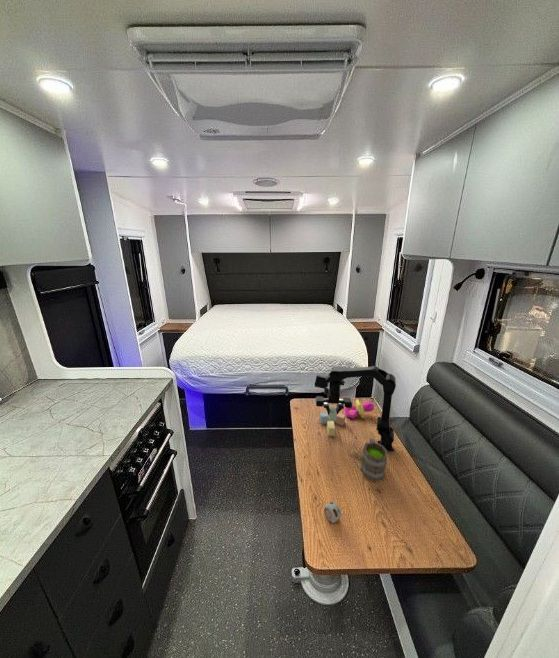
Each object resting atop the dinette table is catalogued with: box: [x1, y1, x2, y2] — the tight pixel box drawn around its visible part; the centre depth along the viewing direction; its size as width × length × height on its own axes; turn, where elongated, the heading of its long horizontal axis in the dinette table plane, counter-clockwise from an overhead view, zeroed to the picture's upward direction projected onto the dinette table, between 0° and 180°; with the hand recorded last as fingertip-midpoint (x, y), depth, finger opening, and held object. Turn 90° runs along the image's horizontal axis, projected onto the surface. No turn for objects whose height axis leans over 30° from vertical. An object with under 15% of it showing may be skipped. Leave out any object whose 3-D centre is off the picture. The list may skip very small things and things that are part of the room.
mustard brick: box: [326, 421, 336, 437], centre depth 142 cm, size 6×4×5 cm, turn 177°
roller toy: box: [323, 501, 342, 524], centre depth 97 cm, size 4×6×6 cm
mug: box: [359, 437, 390, 482], centre depth 118 cm, size 16×11×12 cm
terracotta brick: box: [334, 412, 346, 426], centre depth 150 cm, size 6×4×5 cm, turn 57°
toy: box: [343, 398, 375, 419], centre depth 156 cm, size 10×18×10 cm, turn 91°
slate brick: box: [319, 411, 329, 425], centre depth 151 cm, size 6×4×5 cm, turn 97°
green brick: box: [329, 405, 337, 421], centre depth 139 cm, size 6×4×5 cm, turn 177°
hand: (332, 415), depth 139 cm, fingers closed on green brick, 3 cm apart
